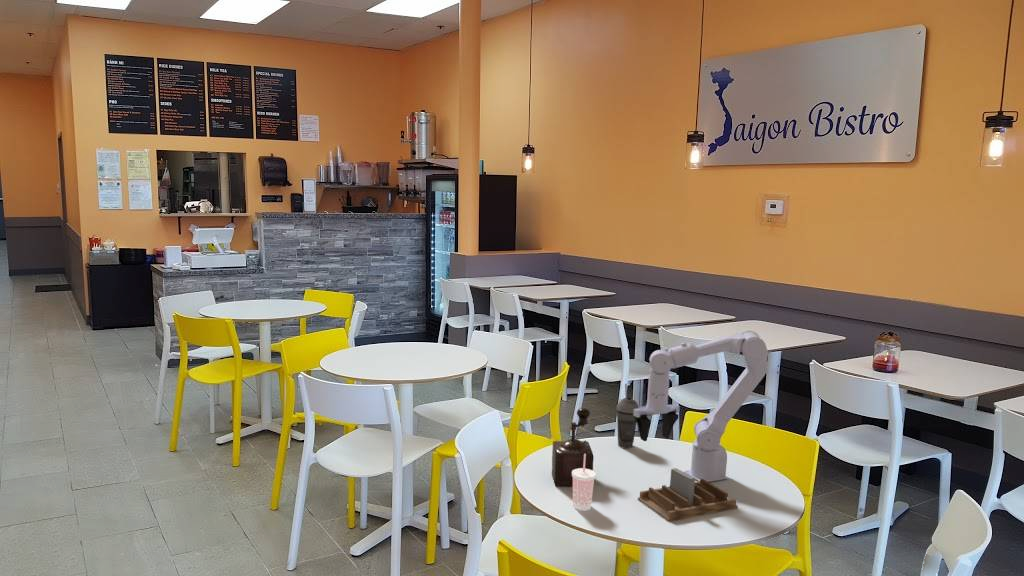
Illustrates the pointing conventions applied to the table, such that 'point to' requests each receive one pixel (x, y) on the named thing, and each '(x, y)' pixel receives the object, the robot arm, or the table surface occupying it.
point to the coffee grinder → (571, 454)
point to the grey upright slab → (682, 484)
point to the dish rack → (677, 506)
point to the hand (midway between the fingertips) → (654, 438)
